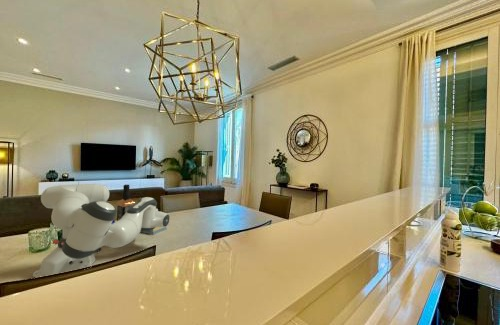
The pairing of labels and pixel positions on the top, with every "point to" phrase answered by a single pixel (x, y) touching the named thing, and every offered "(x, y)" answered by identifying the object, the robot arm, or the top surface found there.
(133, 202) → the whiskey bottle
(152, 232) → the chassis
